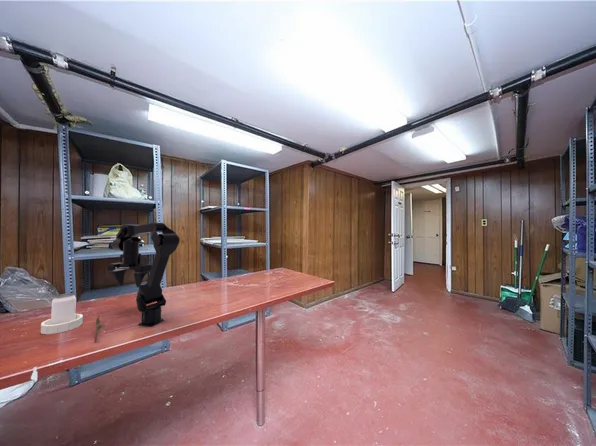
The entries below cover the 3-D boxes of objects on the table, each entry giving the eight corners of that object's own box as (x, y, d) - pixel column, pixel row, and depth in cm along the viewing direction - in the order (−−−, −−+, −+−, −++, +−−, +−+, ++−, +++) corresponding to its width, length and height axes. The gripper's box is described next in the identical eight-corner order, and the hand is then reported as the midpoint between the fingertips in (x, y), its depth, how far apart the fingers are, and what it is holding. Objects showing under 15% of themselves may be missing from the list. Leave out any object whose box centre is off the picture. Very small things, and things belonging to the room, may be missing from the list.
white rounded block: (65, 329, 82) (66, 297, 82) (45, 330, 80) (46, 298, 81) (79, 321, 88) (80, 292, 88) (61, 322, 87) (62, 293, 87)
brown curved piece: (101, 342, 74) (101, 327, 74) (93, 344, 73) (93, 329, 73) (104, 325, 86) (104, 313, 86) (97, 327, 85) (97, 314, 85)
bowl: (89, 322, 89) (89, 315, 89) (55, 335, 78) (55, 327, 78) (68, 319, 91) (69, 312, 91) (32, 332, 80) (32, 324, 80)
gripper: (162, 250, 103) (161, 283, 103) (130, 249, 107) (129, 280, 106) (142, 253, 92) (141, 289, 92) (107, 251, 96) (105, 286, 95)
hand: (129, 286), depth 97 cm, fingers open, 9 cm apart
